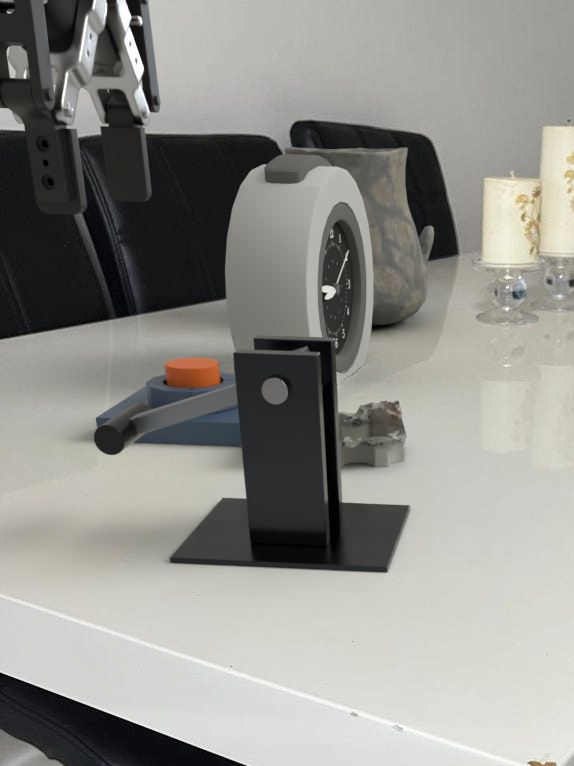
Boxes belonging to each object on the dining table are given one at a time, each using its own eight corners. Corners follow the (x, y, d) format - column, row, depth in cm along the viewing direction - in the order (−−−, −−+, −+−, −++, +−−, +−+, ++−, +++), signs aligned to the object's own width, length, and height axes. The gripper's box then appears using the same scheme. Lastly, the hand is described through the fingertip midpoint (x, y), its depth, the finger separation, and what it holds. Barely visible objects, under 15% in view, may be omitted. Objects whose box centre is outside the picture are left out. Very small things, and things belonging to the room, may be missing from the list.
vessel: (261, 339, 115) (245, 146, 106) (271, 308, 134) (259, 143, 125) (448, 338, 118) (448, 150, 108) (432, 308, 137) (431, 146, 128)
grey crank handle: (104, 465, 55) (84, 423, 54) (138, 439, 59) (120, 401, 58) (309, 403, 52) (292, 359, 51) (328, 382, 57) (313, 340, 56)
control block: (100, 452, 75) (91, 393, 73) (148, 418, 84) (141, 364, 82) (258, 459, 74) (252, 399, 72) (289, 423, 83) (285, 369, 81)
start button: (159, 390, 76) (156, 367, 75) (177, 379, 79) (174, 356, 78) (211, 392, 75) (209, 369, 75) (226, 380, 79) (224, 358, 78)
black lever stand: (171, 577, 55) (142, 360, 49) (224, 515, 64) (204, 324, 58) (387, 587, 54) (382, 368, 49) (410, 522, 63) (408, 331, 58)
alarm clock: (312, 403, 89) (298, 158, 80) (233, 397, 91) (211, 156, 81) (376, 356, 108) (370, 153, 99) (310, 352, 109) (299, 151, 100)
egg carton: (406, 452, 77) (406, 399, 75) (406, 482, 70) (406, 425, 68) (267, 450, 76) (263, 397, 74) (253, 481, 70) (249, 423, 68)
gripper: (40, -150, 51) (87, 195, 59) (-132, -240, 38) (-44, 215, 46) (184, -146, 51) (212, 201, 58) (57, -236, 38) (114, 222, 46)
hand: (99, 206), depth 52 cm, fingers open, 8 cm apart
